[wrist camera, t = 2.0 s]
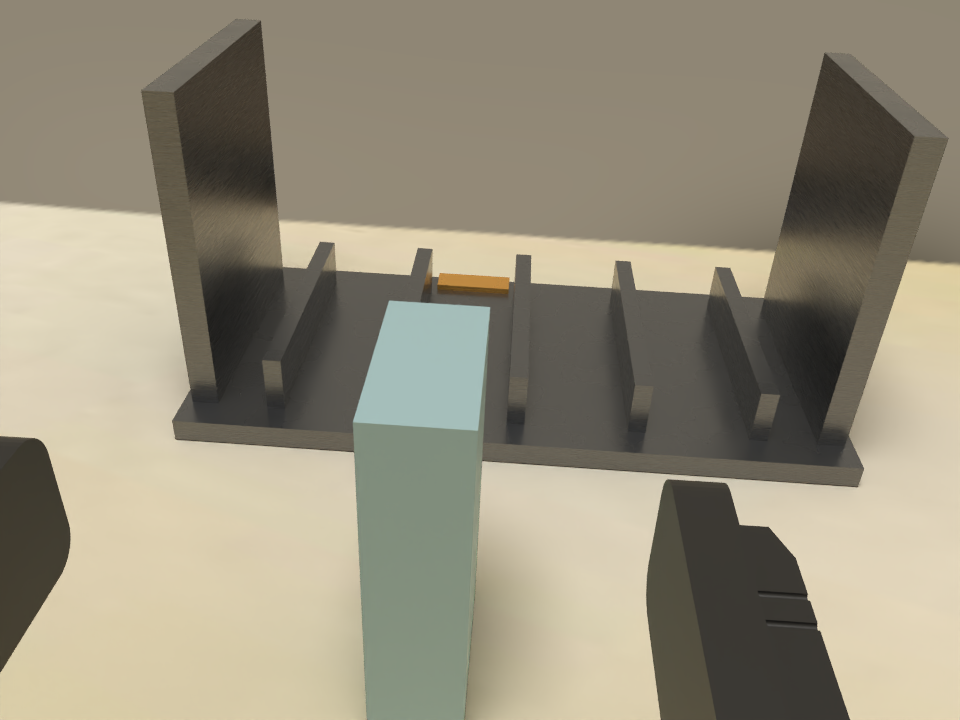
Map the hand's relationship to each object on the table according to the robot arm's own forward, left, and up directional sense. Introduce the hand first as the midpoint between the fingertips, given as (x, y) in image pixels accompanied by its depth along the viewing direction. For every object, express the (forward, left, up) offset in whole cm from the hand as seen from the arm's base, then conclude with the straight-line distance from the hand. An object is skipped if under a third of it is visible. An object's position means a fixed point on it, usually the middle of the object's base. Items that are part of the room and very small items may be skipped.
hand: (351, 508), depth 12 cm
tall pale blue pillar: (0, +11, -17) cm, 20 cm away
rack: (+3, +29, -17) cm, 34 cm away
